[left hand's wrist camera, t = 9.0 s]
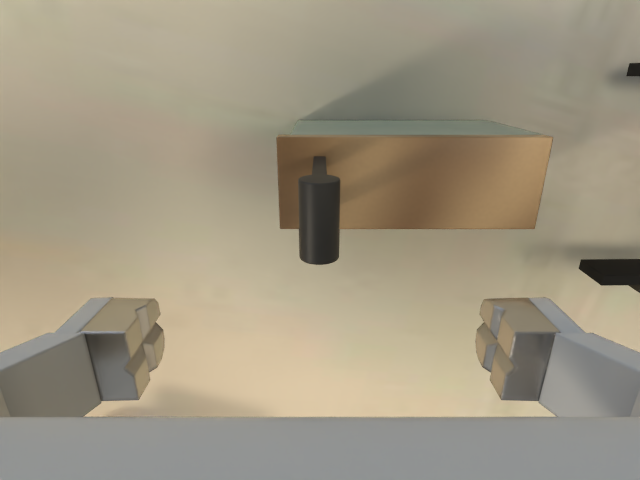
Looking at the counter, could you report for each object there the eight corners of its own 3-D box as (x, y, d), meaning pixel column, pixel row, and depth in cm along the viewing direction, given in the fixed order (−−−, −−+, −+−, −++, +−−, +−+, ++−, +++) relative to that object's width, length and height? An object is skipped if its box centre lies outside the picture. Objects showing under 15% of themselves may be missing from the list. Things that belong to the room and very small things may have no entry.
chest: (299, 188, 34) (292, 223, 26) (297, 120, 32) (289, 134, 24) (477, 188, 34) (526, 223, 26) (486, 120, 32) (543, 134, 24)
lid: (281, 223, 26) (264, 283, 18) (278, 134, 24) (258, 161, 16) (526, 223, 26) (612, 284, 18) (544, 134, 24) (648, 161, 16)
